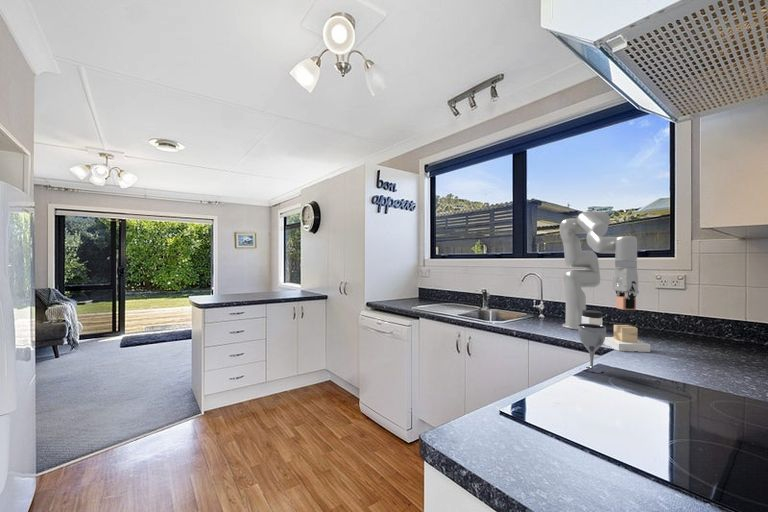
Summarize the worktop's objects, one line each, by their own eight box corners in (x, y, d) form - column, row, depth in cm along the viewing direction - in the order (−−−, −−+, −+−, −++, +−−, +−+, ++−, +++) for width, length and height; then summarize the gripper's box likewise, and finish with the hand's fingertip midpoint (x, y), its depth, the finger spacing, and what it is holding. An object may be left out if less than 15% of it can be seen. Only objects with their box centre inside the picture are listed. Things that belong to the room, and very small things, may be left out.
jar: (599, 338, 156) (599, 313, 156) (579, 335, 162) (579, 311, 162) (604, 335, 162) (604, 311, 162) (585, 333, 168) (585, 309, 168)
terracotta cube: (616, 307, 143) (616, 296, 143) (628, 308, 143) (628, 296, 143) (623, 309, 138) (623, 297, 138) (635, 310, 138) (636, 298, 138)
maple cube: (613, 338, 144) (613, 324, 144) (628, 338, 143) (628, 325, 143) (622, 342, 138) (622, 327, 138) (637, 342, 137) (637, 328, 137)
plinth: (602, 343, 147) (602, 336, 147) (631, 344, 146) (631, 337, 146) (618, 351, 135) (618, 343, 135) (650, 352, 134) (650, 344, 134)
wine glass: (580, 372, 110) (581, 327, 110) (576, 365, 117) (576, 322, 117) (608, 375, 107) (609, 329, 107) (602, 367, 114) (602, 324, 114)
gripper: (605, 264, 150) (605, 304, 150) (629, 265, 133) (629, 310, 133) (622, 264, 149) (622, 305, 149) (649, 265, 132) (649, 311, 132)
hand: (625, 307), depth 141 cm, fingers closed on terracotta cube, 5 cm apart
